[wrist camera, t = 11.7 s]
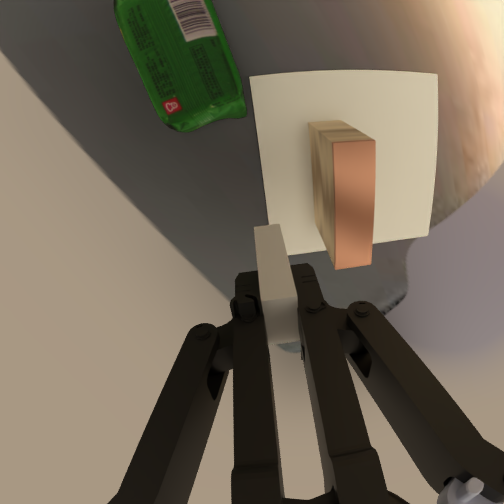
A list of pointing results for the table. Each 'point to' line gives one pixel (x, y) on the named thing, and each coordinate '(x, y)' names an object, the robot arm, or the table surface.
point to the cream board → (363, 119)
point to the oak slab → (343, 190)
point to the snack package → (182, 60)
